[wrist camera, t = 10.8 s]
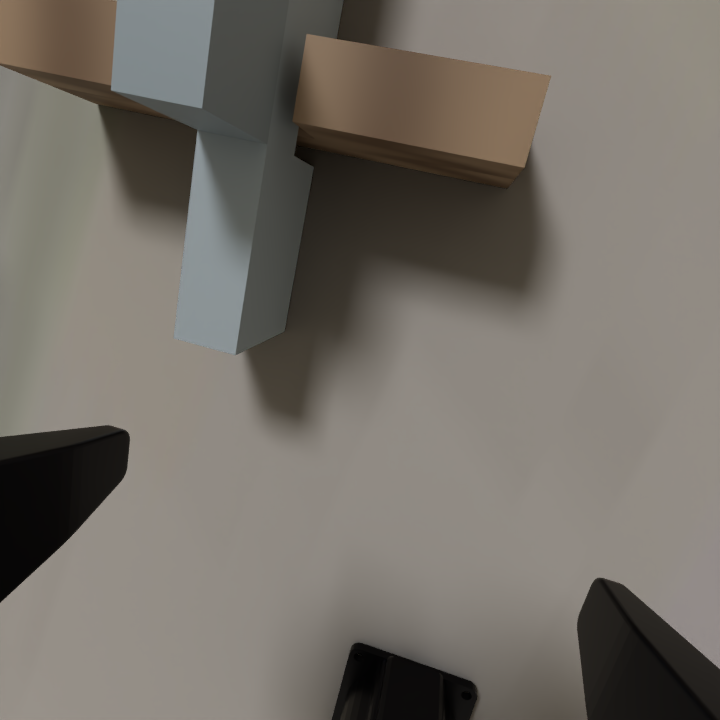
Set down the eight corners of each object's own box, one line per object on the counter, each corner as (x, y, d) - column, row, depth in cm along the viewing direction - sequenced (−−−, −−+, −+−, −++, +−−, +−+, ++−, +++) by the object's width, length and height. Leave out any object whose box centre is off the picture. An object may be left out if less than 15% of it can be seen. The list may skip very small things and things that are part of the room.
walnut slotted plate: (526, 122, 18) (550, 75, 13) (507, 188, 18) (524, 167, 14) (100, 43, 20) (-10, -21, 15) (96, 103, 21) (-11, 61, 16)
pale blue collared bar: (307, -164, 17) (156, -578, 9) (371, -157, 17) (281, -579, 8) (235, 318, 22) (92, 363, 13) (284, 331, 22) (169, 386, 13)
